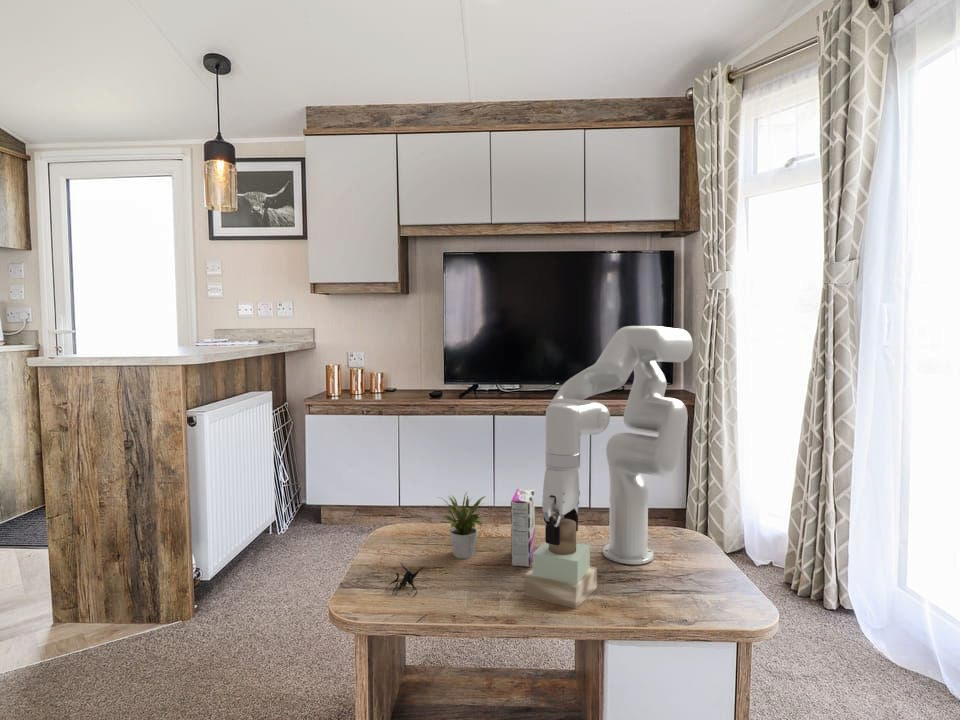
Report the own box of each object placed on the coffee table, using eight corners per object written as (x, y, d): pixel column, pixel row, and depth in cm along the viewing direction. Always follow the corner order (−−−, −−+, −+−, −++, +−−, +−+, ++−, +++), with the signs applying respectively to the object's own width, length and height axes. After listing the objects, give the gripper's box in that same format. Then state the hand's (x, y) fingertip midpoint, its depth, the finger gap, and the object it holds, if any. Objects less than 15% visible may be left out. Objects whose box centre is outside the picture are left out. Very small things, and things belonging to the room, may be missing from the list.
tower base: (548, 577, 136) (548, 556, 136) (596, 589, 130) (597, 567, 129) (524, 596, 126) (524, 574, 126) (575, 611, 120) (575, 587, 119)
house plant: (425, 564, 142) (425, 499, 141) (436, 543, 156) (436, 484, 155) (483, 567, 140) (483, 501, 140) (488, 546, 154) (489, 486, 153)
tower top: (547, 559, 134) (547, 538, 134) (589, 567, 130) (590, 545, 129) (532, 575, 125) (532, 553, 125) (577, 584, 121) (577, 561, 120)
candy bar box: (516, 549, 152) (516, 488, 151) (535, 550, 151) (535, 489, 150) (509, 566, 141) (510, 500, 140) (530, 568, 140) (530, 501, 139)
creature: (409, 606, 123) (429, 584, 130) (406, 584, 122) (426, 563, 129) (380, 598, 127) (400, 577, 134) (376, 577, 125) (397, 556, 132)
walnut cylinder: (556, 542, 131) (556, 516, 131) (580, 547, 128) (580, 521, 127) (543, 551, 126) (543, 524, 126) (568, 556, 123) (569, 529, 122)
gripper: (563, 451, 135) (562, 523, 136) (529, 465, 121) (528, 546, 121) (593, 455, 131) (592, 528, 132) (562, 470, 117) (561, 553, 117)
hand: (562, 537), depth 127 cm, fingers open, 9 cm apart
